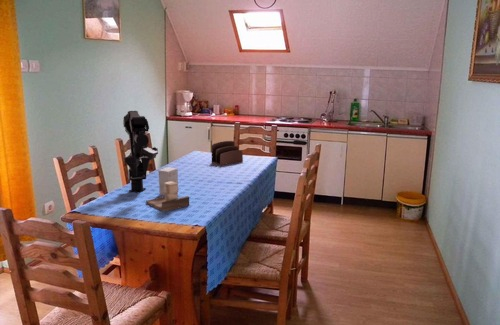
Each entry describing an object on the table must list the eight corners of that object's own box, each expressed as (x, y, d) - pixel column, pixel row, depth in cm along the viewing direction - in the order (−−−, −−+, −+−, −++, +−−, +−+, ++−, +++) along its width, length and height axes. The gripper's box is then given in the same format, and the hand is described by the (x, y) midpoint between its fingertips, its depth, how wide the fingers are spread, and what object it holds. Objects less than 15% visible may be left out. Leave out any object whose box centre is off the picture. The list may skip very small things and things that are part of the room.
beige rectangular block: (165, 202, 202) (164, 182, 200) (172, 201, 205) (171, 181, 203) (170, 205, 199) (170, 185, 196) (177, 203, 201) (177, 183, 199)
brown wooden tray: (146, 203, 206) (145, 194, 205) (170, 197, 215) (170, 189, 214) (163, 211, 194) (163, 203, 193) (189, 205, 204) (189, 196, 203)
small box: (168, 190, 226) (168, 166, 223) (178, 192, 223) (177, 168, 220) (159, 194, 219) (158, 170, 216) (169, 196, 216) (168, 171, 213)
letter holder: (211, 163, 288) (211, 142, 285) (233, 159, 301) (233, 139, 298) (220, 166, 281) (220, 145, 278) (243, 161, 294) (243, 141, 291)
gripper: (143, 147, 194) (145, 180, 198) (163, 140, 211) (164, 170, 215) (122, 145, 197) (124, 178, 201) (143, 138, 215) (145, 168, 218)
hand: (140, 173), depth 209 cm, fingers open, 9 cm apart
